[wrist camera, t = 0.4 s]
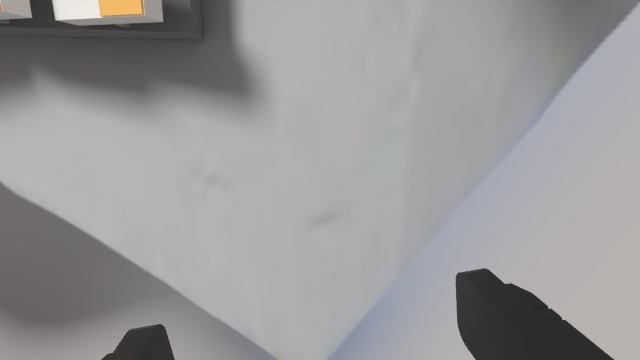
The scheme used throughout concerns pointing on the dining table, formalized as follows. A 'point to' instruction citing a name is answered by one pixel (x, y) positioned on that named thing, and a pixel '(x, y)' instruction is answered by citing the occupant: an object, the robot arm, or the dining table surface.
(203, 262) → the dining table surface
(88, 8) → the block
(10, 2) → the block
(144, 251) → the dining table surface
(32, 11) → the power strip
